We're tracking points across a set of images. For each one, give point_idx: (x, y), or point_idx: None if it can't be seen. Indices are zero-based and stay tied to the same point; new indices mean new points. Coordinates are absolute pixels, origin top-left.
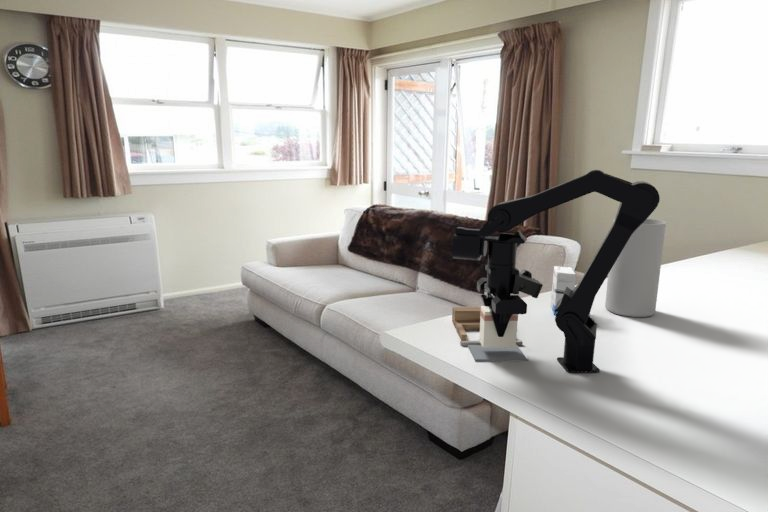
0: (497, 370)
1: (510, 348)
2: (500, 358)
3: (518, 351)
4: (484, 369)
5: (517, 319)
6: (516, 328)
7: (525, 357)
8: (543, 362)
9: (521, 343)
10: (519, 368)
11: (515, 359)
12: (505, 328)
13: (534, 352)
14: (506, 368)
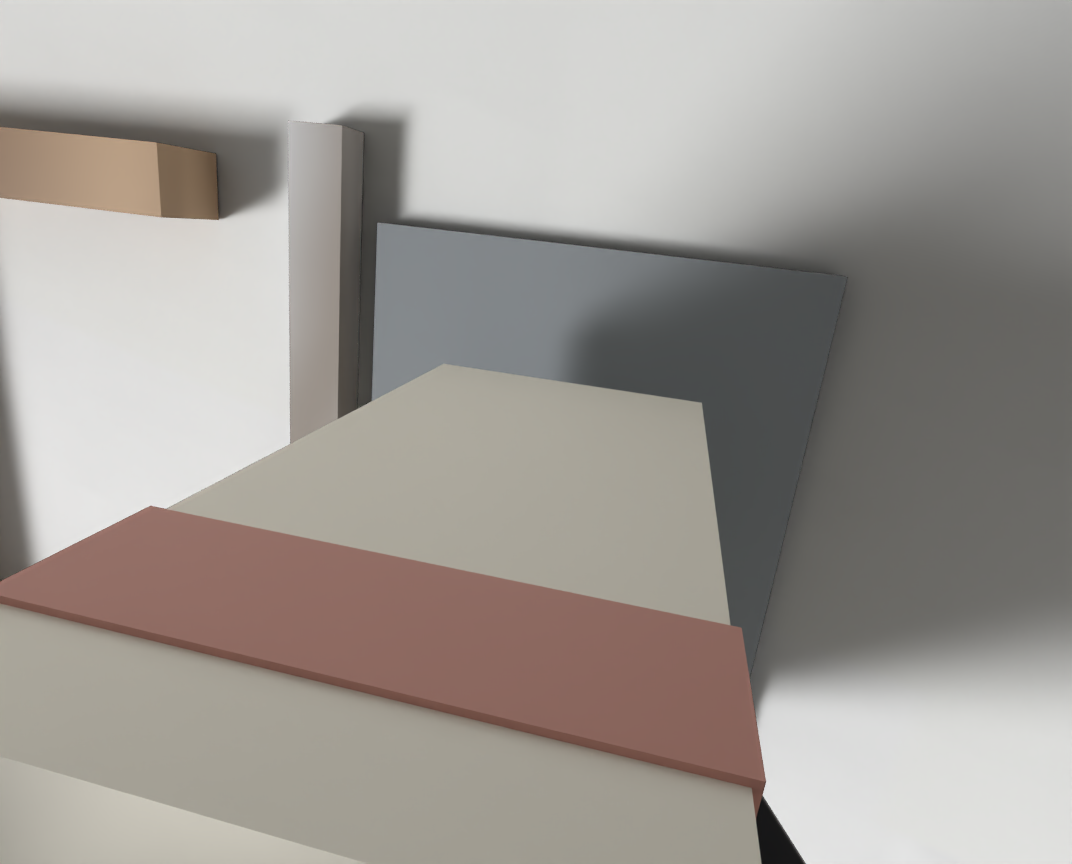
0: (998, 708)
1: (488, 350)
2: (753, 583)
3: (588, 289)
4: (930, 805)
5: (744, 668)
6: (710, 529)
7: (794, 281)
8: (951, 63)
9: (350, 143)
10: (1031, 466)
11: (809, 425)
12: (768, 826)
13: (595, 55)
14: (979, 602)
